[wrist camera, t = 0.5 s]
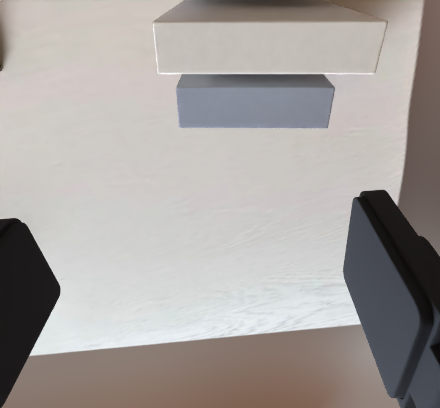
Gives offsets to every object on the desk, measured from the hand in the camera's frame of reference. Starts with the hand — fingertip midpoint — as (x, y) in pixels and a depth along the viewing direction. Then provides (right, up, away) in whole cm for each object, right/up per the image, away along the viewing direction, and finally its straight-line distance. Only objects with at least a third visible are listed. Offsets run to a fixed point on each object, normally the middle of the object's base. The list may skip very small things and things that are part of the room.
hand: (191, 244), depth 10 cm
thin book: (+3, +17, +19) cm, 26 cm away
